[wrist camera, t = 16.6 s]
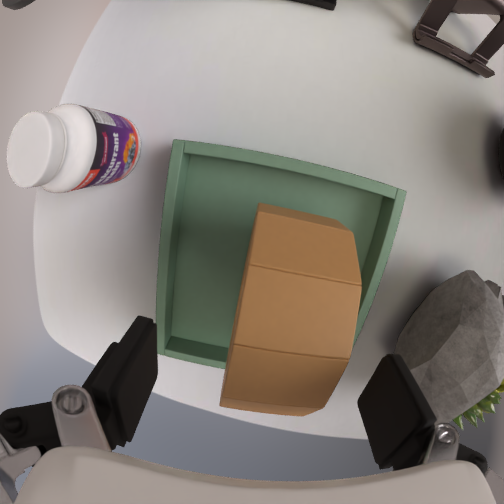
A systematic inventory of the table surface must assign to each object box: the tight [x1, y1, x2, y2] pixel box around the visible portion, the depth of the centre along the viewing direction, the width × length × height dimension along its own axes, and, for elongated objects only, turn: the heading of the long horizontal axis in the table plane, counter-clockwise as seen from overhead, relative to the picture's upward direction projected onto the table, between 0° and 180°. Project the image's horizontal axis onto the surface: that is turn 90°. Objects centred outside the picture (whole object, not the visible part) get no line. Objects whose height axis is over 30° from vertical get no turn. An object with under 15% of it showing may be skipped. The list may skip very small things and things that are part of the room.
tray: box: [156, 139, 406, 369], centre depth 20 cm, size 16×17×3 cm
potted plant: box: [394, 270, 504, 430], centre depth 17 cm, size 12×13×15 cm
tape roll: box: [220, 203, 362, 416], centre depth 15 cm, size 4×11×11 cm, turn 169°
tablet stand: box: [413, 0, 504, 78], centre depth 9 cm, size 9×8×8 cm
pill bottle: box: [7, 104, 141, 193], centre depth 14 cm, size 5×5×10 cm
